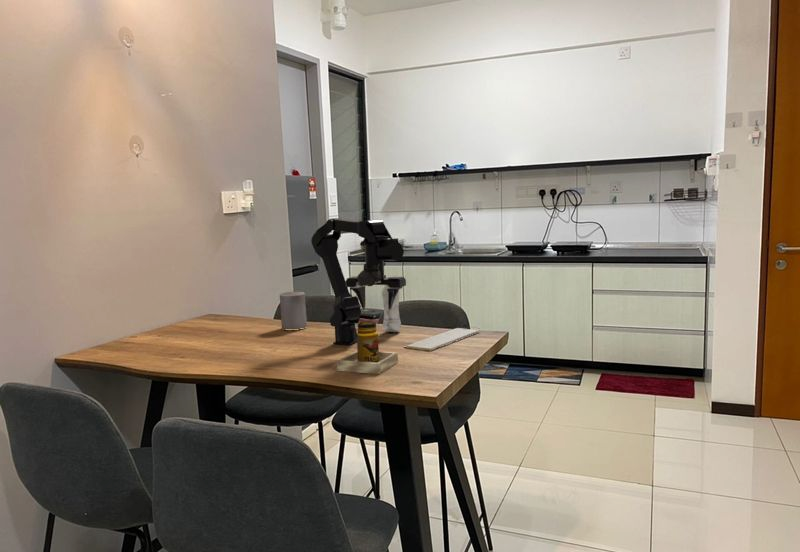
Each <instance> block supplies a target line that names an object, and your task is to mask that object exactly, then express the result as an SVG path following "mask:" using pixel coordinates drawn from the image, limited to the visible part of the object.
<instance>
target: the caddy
mask: <svg viewBox="0 0 800 552" xmlns="http://www.w3.org/2000/svg"><path fill="white" fill-rule="evenodd" d="M355 360H358V352H357V350H355V351H352V352H351V353H349V354H348V355H345V356H344V357H341V358H340V359H338V360H336V371H337V372H349V373H361V374H374V375H375V374H376V375H377V374H378V375H380V374H382V373H383V372H385V371H386V370H388V369H389V368H392V366H395V365H396V364H397V363H399V353H398V352H391V351H379V362H378V363H373V362H359V361H355Z"/></svg>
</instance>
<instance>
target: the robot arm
mask: <svg viewBox="0 0 800 552" xmlns="http://www.w3.org/2000/svg"><path fill="white" fill-rule="evenodd" d="M342 232H343V233H345V232H346V233H352V234H356V235H358V237H360V238H363V240H362V241H361V242H360V243H359V245H360V247H361V246H363V247H364V253H365V254H364V257H365V258H364V259H365V263H364V264H363V268H362V269H363V270H361V271H360V272H359V274H358V275H357V276H350V277H347V278H346V279H345V275H344V273H343V270H342V267H341V263H340V261H339V258H338V255H337V254H338V250H339V243H338V241H339V240H340V238H341V237H342ZM310 241H311V245H312V247H313V250H314V251H315V254H317V255H318V256H319V257H320V258H321V259H322V261H323V265H324V268H325V270H326V274H327V276H328V277H327V278H328V280H329V283H330V285H331V289H332V292H333V294H334V304H333V309H334V312H333V314H332V316H331V317H330V319H329V323H330V327H334V336H335V337H334V338H335V339H334V340H335V341H333V342H332V344H333V345H334V344H335V345H352V344H354V343H357V333H358V328H356V325H357V324H359V323H360V319H361V318H360V317H361V314H362V310H364V309H365V308H366V287H372V286H375V285H376V286H385V285H388V286H389V287H390V288H388V289H387V291H388V307H389V310H390V309H391V308H392V305H393V303H394V300H395V297H396V295H397V293H398V291H399V292H400V290H401V289H403V287H405V286H407V280H406V278H405V277H404V276H391V277H392V278H388V279H385V278H386V277H387V275H386V274H385V266H386V262H384V261H392V262H399V261H401V259H402V258H403V256H404V252H405V251H404V248H403V245H402V243H400V242H399V238H393V237H392V235H391V234H390V232H389V230H388V229H387V226H385V223H384V220H382V219H373V220H372V219H370V220H369V219H368V220H361V221H359V220H352V219H344V218H343V219H342V218H340V217H335V218H329V219H328V220H327V221H326V222H325V224H323V225H322V226H320V227H319V228H318V229H317V230H316V231H315V233H313V235H312V237H311V240H310ZM349 290H351V291H353V292H354V293H355V295H352V294H351V293H350V291H349ZM361 308H362V309H361Z"/></svg>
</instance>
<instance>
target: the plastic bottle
mask: <svg viewBox="0 0 800 552" xmlns="http://www.w3.org/2000/svg"><path fill="white" fill-rule="evenodd" d="M392 277H393V276H390V277H389V276H388V277H387V276H386V278H385V279H388V278H392ZM388 288H390V287H389V286H388V285H383V288H382V290H381V297H382V298H381V299H382V302H383V323H382V328H383V331H384V332H386V333H389V332H394V333H398V332H400V331H401V328H402V322H401V318H400V317H401V316H400V311H399V303H400V302H399V301H400V290H399V291H398V293H397V295H396V297H395V300H394V303H393V305H392V308H391V309H390V310H389V307H388V291H387V289H388Z"/></svg>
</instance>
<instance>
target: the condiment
mask: <svg viewBox="0 0 800 552" xmlns="http://www.w3.org/2000/svg"><path fill="white" fill-rule="evenodd" d="M356 345H357V346H356V349H357V350H356V351H357V352H358V360H355V361H359V362H373V363H378V362H379V352H380V351H379V334H378V331H377V324H376V322H375V321H362V322H359V323H357V341H356Z"/></svg>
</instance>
